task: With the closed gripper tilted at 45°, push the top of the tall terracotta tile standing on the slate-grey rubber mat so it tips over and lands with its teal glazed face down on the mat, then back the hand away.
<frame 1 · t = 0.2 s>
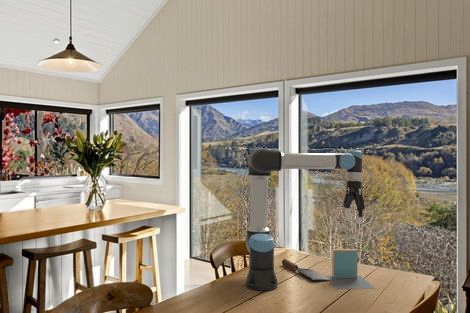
hand: (353, 222, 200), 28 cm above the table, tool pointing down, fingers open, 13 cm apart
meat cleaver: (304, 272, 205), on the table, touching mat
mat: (349, 282, 189), on the table
tile: (344, 277, 196), resting on mat
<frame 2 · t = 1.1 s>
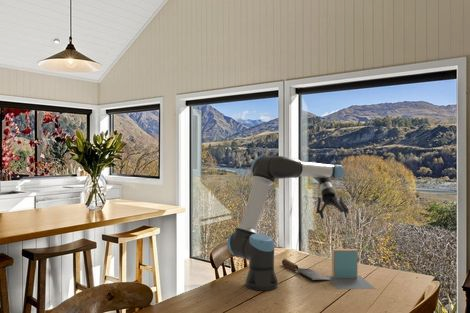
hand: (335, 222, 213), 25 cm above the table, tool tilted 45°, fingers open, 10 cm apart
nothing on the table moved.
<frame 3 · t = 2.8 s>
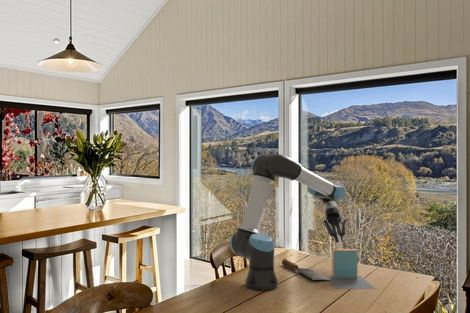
hand: (340, 247, 205), 14 cm above the table, tool tilted 45°, fingers closed
nothing on the table moved.
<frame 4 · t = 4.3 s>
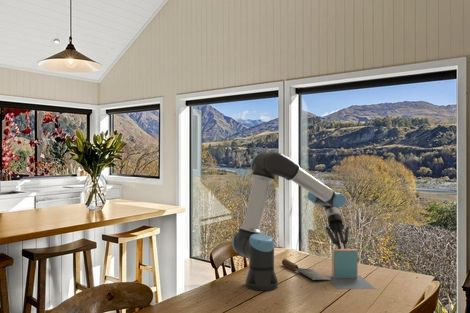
hand: (343, 255, 199), 11 cm above the table, tool tilted 45°, fingers closed
tile: (344, 277, 196), point 1 cm above the table, touching gripper, mat
everything else where it was.
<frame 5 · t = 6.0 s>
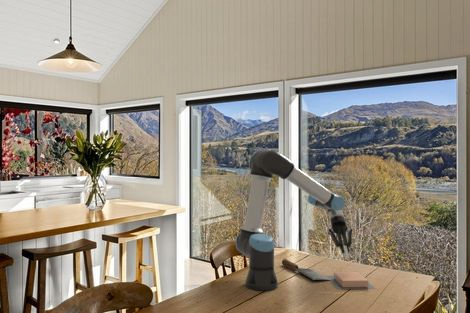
hand: (347, 258, 192), 11 cm above the table, tool tilted 45°, fingers closed
tile: (345, 274, 194), point 2 cm above the table, tilted 90°, touching mat
everything else where it was.
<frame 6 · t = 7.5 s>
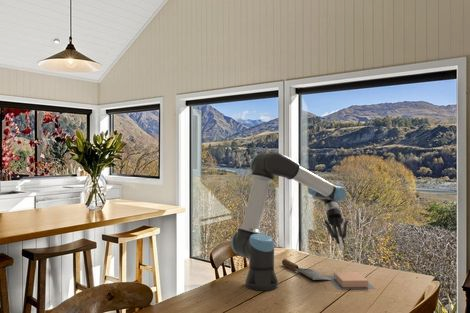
hand: (341, 248, 201), 14 cm above the table, tool tilted 45°, fingers closed
nothing on the table moved.
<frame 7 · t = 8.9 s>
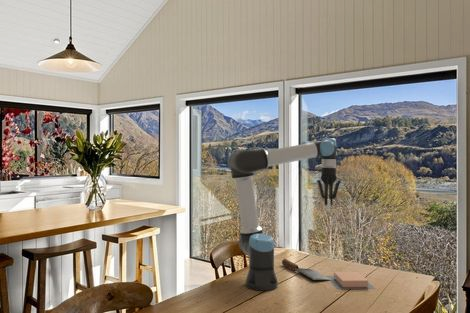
hand: (328, 211, 208), 32 cm above the table, tool pointing down, fingers closed
nothing on the table moved.
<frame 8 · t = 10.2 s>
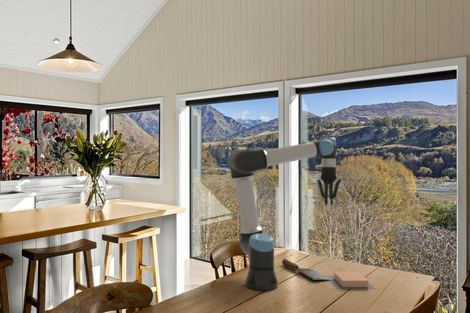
hand: (328, 210, 208), 32 cm above the table, tool pointing down, fingers closed
nothing on the table moved.
at the end: tile tilted 90°; tile inside the target area (0.3 cm from its centre), point 2.4 cm above the table; tile touching mat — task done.
